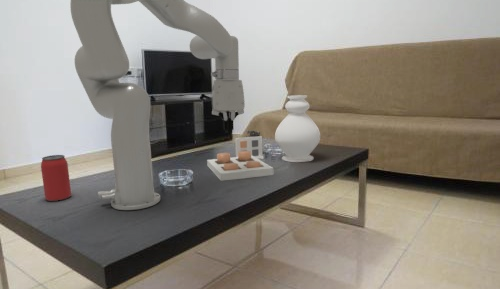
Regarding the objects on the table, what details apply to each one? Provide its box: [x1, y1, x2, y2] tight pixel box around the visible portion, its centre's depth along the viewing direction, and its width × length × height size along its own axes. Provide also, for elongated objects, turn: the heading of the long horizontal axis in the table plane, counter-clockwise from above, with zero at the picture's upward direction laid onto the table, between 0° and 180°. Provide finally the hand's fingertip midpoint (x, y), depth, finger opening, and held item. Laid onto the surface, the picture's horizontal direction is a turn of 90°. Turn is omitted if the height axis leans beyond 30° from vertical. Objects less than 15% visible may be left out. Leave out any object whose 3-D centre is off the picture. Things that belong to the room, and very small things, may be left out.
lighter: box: [245, 129, 264, 155], centre depth 155 cm, size 8×3×10 cm, turn 58°
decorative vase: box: [274, 94, 321, 163], centre depth 140 cm, size 18×18×25 cm
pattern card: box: [234, 135, 265, 160], centre depth 143 cm, size 11×4×9 cm, turn 108°
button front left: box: [224, 163, 238, 171], centre depth 120 cm, size 5×5×3 cm
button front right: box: [246, 161, 260, 168], centre depth 123 cm, size 5×5×3 cm
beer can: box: [40, 154, 72, 202], centre depth 100 cm, size 7×7×12 cm
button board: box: [206, 156, 275, 182], centre depth 126 cm, size 18×22×2 cm
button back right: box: [238, 151, 251, 161], centre depth 132 cm, size 5×5×3 cm
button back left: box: [216, 152, 231, 164], centre depth 129 cm, size 5×5×3 cm
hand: (228, 132), depth 118 cm, fingers closed
